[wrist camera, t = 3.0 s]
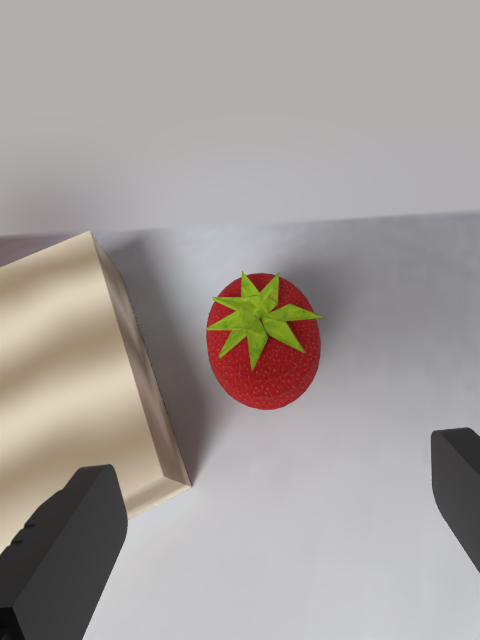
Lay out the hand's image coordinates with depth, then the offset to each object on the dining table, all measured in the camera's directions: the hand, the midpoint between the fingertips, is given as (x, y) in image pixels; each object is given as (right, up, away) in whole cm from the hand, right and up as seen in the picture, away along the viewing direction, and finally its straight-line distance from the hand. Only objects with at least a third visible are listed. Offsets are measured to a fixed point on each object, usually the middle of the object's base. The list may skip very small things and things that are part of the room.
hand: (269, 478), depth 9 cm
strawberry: (+1, 0, +14) cm, 14 cm away
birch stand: (-13, -2, +15) cm, 20 cm away
